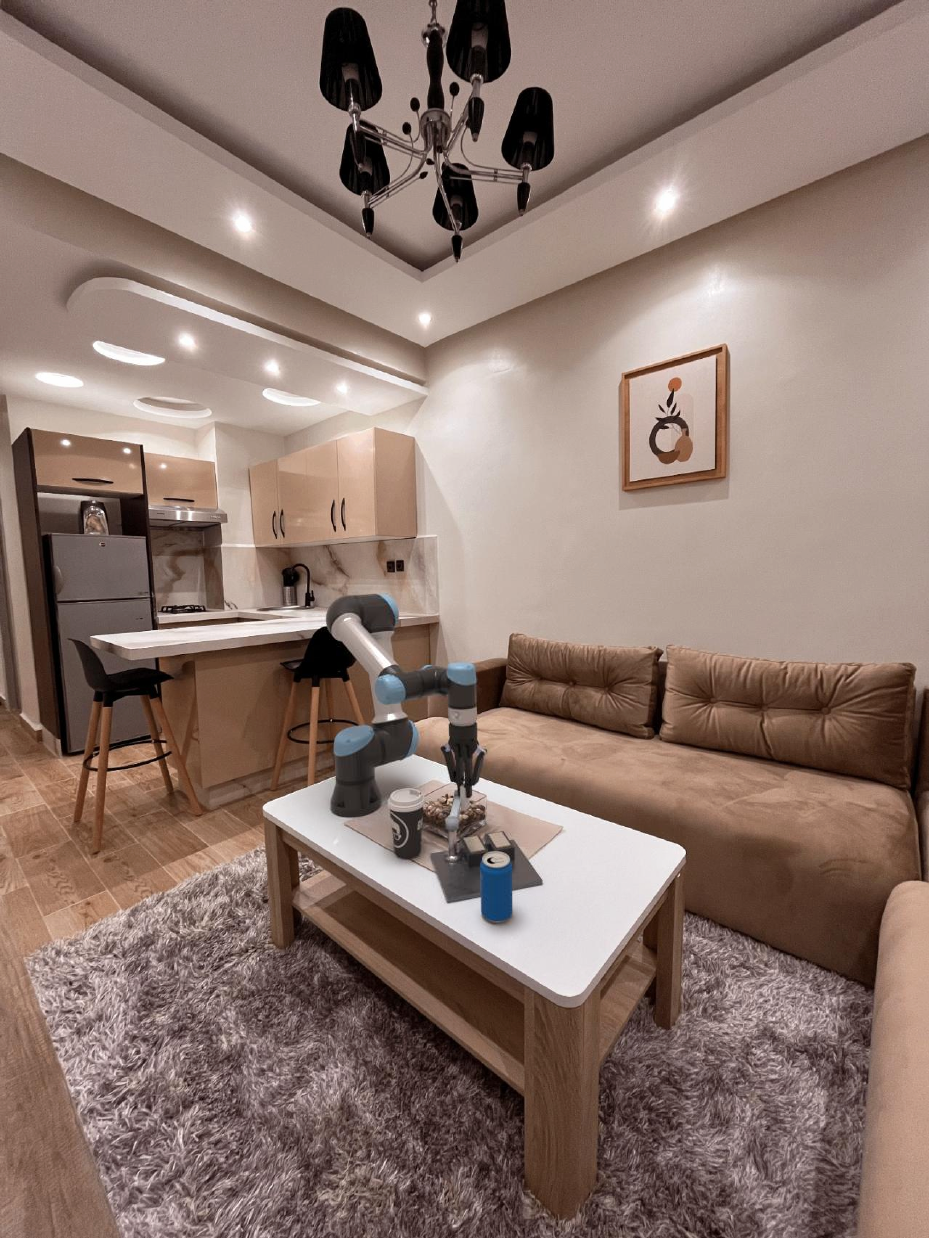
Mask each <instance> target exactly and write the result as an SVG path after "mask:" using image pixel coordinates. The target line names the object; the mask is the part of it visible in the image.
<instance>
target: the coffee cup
mask: <svg viewBox="0 0 929 1238" xmlns="http://www.w3.org/2000/svg"><path fill="white" fill-rule="evenodd" d="M386 804H387V808H388V809H389V815H390V816H389V817H390V822H391V823H390V825H391V830H392V831H391V832H392V839H393V841H392V842H393V847H394V850H393V851H394V855H395V857H396V858H398V859H401V860H411V859H414V858H417V857H418V856H419V855H420V854H421V851H422V837H423V819H424V818H423V817H424V807H425V805H426V798H425V796H424V795H423V793H422V791H421V790H419V789H416V788H411V787H410V788H409V787H407V788H399V789H397V790H394V791H393V792H391V793H390V796H389V798H388V799H387V803H386Z"/></svg>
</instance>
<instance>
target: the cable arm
mask: <svg viewBox="0 0 929 1238" xmlns="http://www.w3.org/2000/svg"><path fill="white" fill-rule="evenodd" d="M460 811H461V800H460V797H459V796H458V794H457V789H455V790H454V792H453V802H452V806H451V809H450V813H449V816H448V817H446V818H445V829H446V830H447V831H448V830H450V831H454V830H456V831H457V830H458V829H459V828H460V823H459V821H460V819H459V815H460Z"/></svg>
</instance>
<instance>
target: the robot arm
mask: <svg viewBox="0 0 929 1238" xmlns="http://www.w3.org/2000/svg"><path fill="white" fill-rule="evenodd" d="M399 619H400V612H399V608H398V606H397V604H396V602H395V600H394V599H393V598H392V597H391V596H390V595H388V594H384V593H383V594H381V593H380V594H379V593H369V594H354V595H351V594H350V595H349V594H348V595H342V596H340V597H339V598H336V599H335V600H333V602H332V603H330V605H329V606H328V608H327V611H326V614H325V624H326V627H327V630H328V632H329V633H330V635H331V636H332V637H333V638H334V639H335V640H337V641H339V642H342V643H343V645H344V646H345V647H346V648H347V650H348V651H349V652H350V653H351V654H352V656H353V657H354V658H355V659H356V660H357V661H358V662H359V664H360V665H361V666H362V667H363V669H365V671H366V672H367V673H368V675H369V684H370V689H371V695H372V702H373V708H374V718H373V719H372V720H371V726H370V725H366V724H360V725H358V726H357V725H354V726H349V727H347V728H344V729H342V730H341V731H339V732H338V733H337V734H336V736H335V737H334V742H333V743H334V744H333V754H334V755H333V757H334V771H335V773H334V774H335V776H334V777H335V784H334V788H333V791H332V795H331V799H330V811H331V812H332V813H333V814H334V815H337V816H340V817H346V818H347V817H349V818H353V817H354V818H355V817H363V816H366V815H370V814H371V813H373V812H375V811H376V810H378V809H379V808H380V807H381V806H382V794H381V791H380V789H379V786H378V783H377V781H376V777H375V775H376V774H375V773H376V771H375V769H376V768H378V767H381V766H384V765H387V764H390V763H394V762H398V761H403V760H405V759H406V758H410V757H411V756H412V755H414V754H415V753H416V751H417V749H418V746H419V730H418V727H417V726H416V724H415V723H414V722H413V721H412V720H410V719H409V716H408V715H407V714H406V713H405V712H404V711H403V709H402V708H403V707H402V703H405V702H409V701H413V700H417V699H418V700H419V699H422V698H427V697H428V698H429V697H431V696H436V695H437V696H442V697H447V715H448V722H449V723H448V737H449V738H448V741H447V743H445V744H443V745H442V746H440V751H441V753H442V754H443V756H444V761H445V765H446V769H447V772H448V778H449V781H450V782H451V783H455V784H456V785H457V786H456V788H457V789H456V790H457V794H458V796H459V797H460V800H461V807H460V811H462V812H463V811H464V812H466V811H467V810H468V809H469V808H470V807H471V805H470V804H471V803H470V801H471V800H470V799H471V797H472V796H473V787H475V786H476V785H477V784H478V783H479V781H480V777H481V772H482V768H483V763H484V758H485V756H487V753H488V750H487V749H486V748H484V749H483V748H482V747H481V746H480V742H479V741H478V722H477V721H478V711H477V710H478V709H477V703H478V702H477V701H478V700H477V680H478V679H477V673H476V667H475V666H476V665H474V664H473V663H471V662H462V661H460V662H458V661H457V662H453V663H449V664H448V665H447V667H443V666H439V665H436V664H433V665H432V664H428V665H424V666H423V667H421V668H420V669H416V670H415V669H414V670H410V671H409V670H408V671H405V670H404V669H403V668H402V667H401V666H400V665H399V664H398V663H397V662H396V661H395V659H394V652H393V646H392V645H393V644H392V636H393V635H394V634H395V628H396V627H397V626H398V624H399ZM475 753H476V759H475V763H474V766H473V758H474V754H475Z"/></svg>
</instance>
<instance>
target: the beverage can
mask: <svg viewBox="0 0 929 1238" xmlns="http://www.w3.org/2000/svg"><path fill="white" fill-rule="evenodd" d="M480 880H481V897H480V913H481V915H482V916H483V917H484V918H485V919H486V920H487V921H489V922H491V923H497V924H500V923H503V922H506V921H507V920H509V919H510V918H511V917H512V915H513V912H514V911H513V890H512V863H511V861H510V858H509V856H508V855H507V854H505V853H503V852H498V851H493V852H489V853H486V854H485V855H484V856H483V858H482V861H481V863H480Z"/></svg>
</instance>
